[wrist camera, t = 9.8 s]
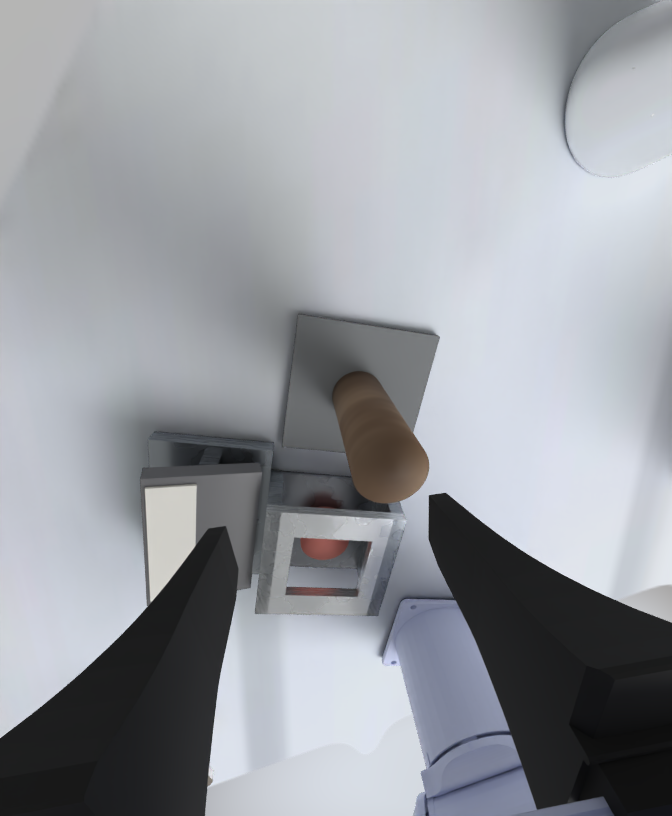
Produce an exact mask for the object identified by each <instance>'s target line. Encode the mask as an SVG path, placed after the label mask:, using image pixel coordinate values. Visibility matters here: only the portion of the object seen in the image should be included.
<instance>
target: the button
mask: <svg viewBox="0 0 672 816" xmlns="http://www.w3.org/2000/svg"><path fill="white" fill-rule="evenodd" d="M316 508H331V509H336V508H333V507H328V506H321V507H316ZM300 543H301V548H302V550H303V552H304V553H305V554H306V555H307V556H309V557H311V558H314V559H317V560H328V559H332V558H335V557H337V556H339V555H340V554H342V553H343V552H344V551H345V550H346V548H347V546H348V544H349V540H334V539H315V538H300Z"/></svg>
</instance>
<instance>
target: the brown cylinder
mask: <svg viewBox="0 0 672 816" xmlns="http://www.w3.org/2000/svg"><path fill="white" fill-rule="evenodd" d="M332 400H333V404H334V408H335V412H336V416H337V420H338V424H339V428H340V432H341V436H342V440H343V444H344V448H345V452H346V456H347V460H348V464H349V467H350V471H351V475H352V479H353V483H354V486H355V488H356V489H357V491H358V492H359V493H360V494H361V495H362V496H363V497H365V498H366V499H368V500H370V501H373V502H377V503H394V502H398V501H401V500H404V499H406V498H408V497H410V496H411V495H413V494H414V493H415V492H417V491H418V490H419V489H420V487H421V486H422V485H423V483H424V482H425V480H426V478H427V475H428V472H429V460H428V457H427V454H426V452H425V451H424V449H423V448H422V446H421V445H420V443H419V441H418V440H417V438H416V437H415V435H414V434H413V432H412V431H411V429H410V428H409V426H408V425H407V423H406V422H405V420H404V419H403V417H402V416H401V414H400V413H399V411H398V410H397V408H396V406H395V405H394V403H393V402H392V400H391V399H390V397H389V396H388V394H387V393H386V391H385V390H384V388H383V387H382V385H381V384H380V382H379V381H378V379H377V378H376V377H375V376H373V375H372V374H370V373H367V372H363V371H355V372H351V373H348V374H346V375H344V376H343V377H341V378H340V379H339V380H338V382H337V383H336V385H335V387H334V389H333V393H332Z"/></svg>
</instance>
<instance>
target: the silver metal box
mask: <svg viewBox="0 0 672 816" xmlns="http://www.w3.org/2000/svg"><path fill="white" fill-rule="evenodd" d="M273 448H274V443H270V442H260V441H249V440H239V439H228V438H218V437H207V436H196V435H186V434H175V433H165V432H154V433H153V434H152V435H151V436H150V438H149V439H148V455H149V468H150V467H172V466H194V465H216V464H238V463H260V466H261V470H262V479H261V489H260V499H259V509H258V518H257V528H256V538H255V548H254V557H253V567H252V574H259V580H258V589H257V598H256V607H255V614H297V615H353V616H378V614H379V610H380V607H381V604H382V600H383V597H384V594H385V591H386V587H387V584H388V581H389V578H390V574H391V571H392V568H393V564H394V561H395V558H396V555H397V551H398V548H399V545H400V542H401V538H402V535H403V532H404V528H405V525H406V522H407V519H406V517H405V514H404V512H403V510H402V507H401V505H400V502H399V501H398V502H394V503H377V502H373V501H370V500H368V499H366V498H365V497H363V496H362V495H361V494H360V493H359V492H358V491H357V489H356V488H355V486H354V483H353V479H352V477H349V476H337V475H325V474H313V473H301V472H289V471H277V470H271V466H272V457H273ZM321 506H328V507H333V508H336V509H331V508H316V507H321ZM300 538H315V539H334V540H349V544H348V546H347V548H346V550H345V551H344V552H343V553H342V554H340V555H339V556H337V557H335V558H332V559H328V560H317V559H314V558H311V557H309V556H307V555H306V554H305V553H304V552H303V550H302V548H301V543H300ZM289 566H299V567H325V568H350V569H357V572H358V577H359V580H358V584H357V588H356V589H342V588H309V587H286V586H287V579H288V573H289Z"/></svg>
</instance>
